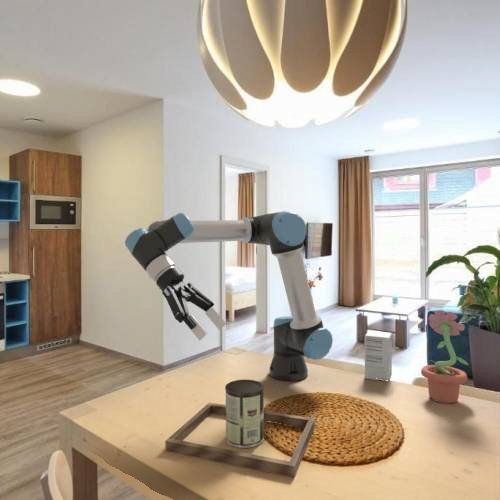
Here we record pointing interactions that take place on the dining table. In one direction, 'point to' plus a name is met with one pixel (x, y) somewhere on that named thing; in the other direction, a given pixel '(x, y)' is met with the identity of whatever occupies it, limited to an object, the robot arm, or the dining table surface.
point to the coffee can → (244, 413)
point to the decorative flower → (441, 375)
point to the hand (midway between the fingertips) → (213, 331)
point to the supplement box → (378, 355)
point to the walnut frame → (240, 458)
